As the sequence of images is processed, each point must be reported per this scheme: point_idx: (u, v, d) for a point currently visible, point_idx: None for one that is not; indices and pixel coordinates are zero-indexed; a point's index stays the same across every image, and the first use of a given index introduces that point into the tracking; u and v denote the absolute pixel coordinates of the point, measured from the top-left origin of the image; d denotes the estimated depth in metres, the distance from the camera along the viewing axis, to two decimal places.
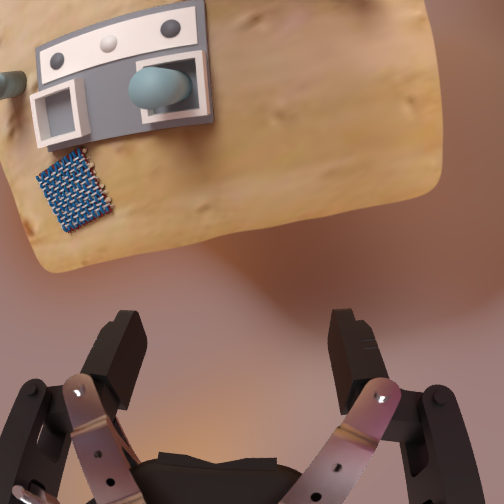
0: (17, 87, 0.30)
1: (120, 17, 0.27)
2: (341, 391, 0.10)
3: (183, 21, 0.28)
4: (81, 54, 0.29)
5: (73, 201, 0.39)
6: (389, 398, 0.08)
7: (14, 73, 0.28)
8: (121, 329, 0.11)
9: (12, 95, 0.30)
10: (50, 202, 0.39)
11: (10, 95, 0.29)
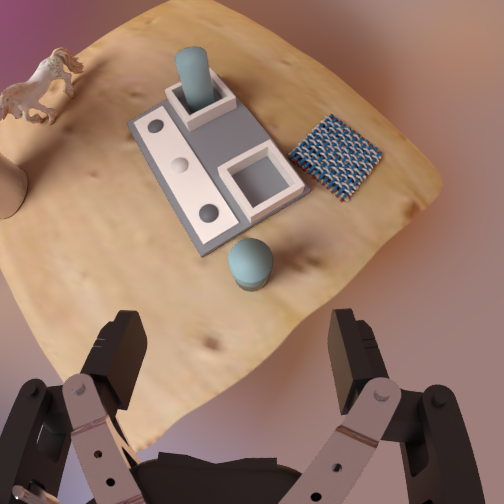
0: None
1: (153, 170, 0.40)
2: (341, 391, 0.10)
3: (147, 121, 0.42)
4: (195, 187, 0.39)
5: (344, 148, 0.40)
6: (389, 398, 0.08)
7: None
8: (121, 329, 0.11)
9: None
10: (361, 174, 0.40)
11: None
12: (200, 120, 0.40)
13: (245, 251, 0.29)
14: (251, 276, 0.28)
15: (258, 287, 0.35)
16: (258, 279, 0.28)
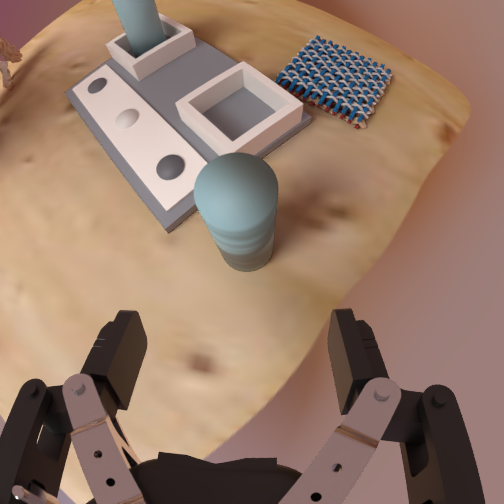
0: None
1: (95, 133, 0.27)
2: (341, 391, 0.10)
3: (88, 83, 0.29)
4: (149, 138, 0.26)
5: (343, 67, 0.28)
6: (389, 398, 0.08)
7: None
8: (121, 329, 0.11)
9: None
10: (374, 92, 0.26)
11: None
12: (150, 63, 0.27)
13: (224, 175, 0.15)
14: (242, 216, 0.14)
15: (260, 256, 0.21)
16: (256, 219, 0.14)
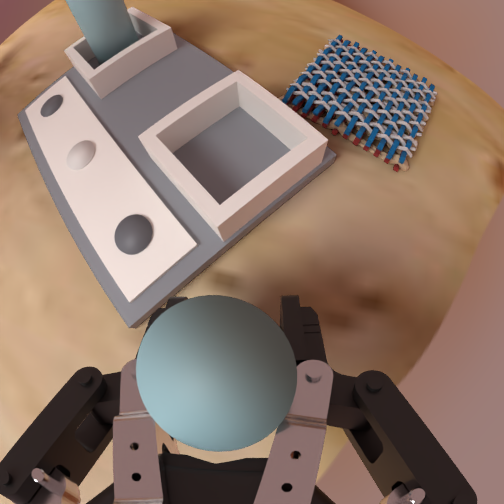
0: None
1: (44, 174, 0.19)
2: None
3: (42, 103, 0.21)
4: (107, 187, 0.18)
5: None
6: (319, 379, 0.09)
7: None
8: None
9: None
10: (418, 118, 0.19)
11: None
12: (114, 75, 0.20)
13: (190, 347, 0.07)
14: (227, 432, 0.07)
15: None
16: (253, 439, 0.07)
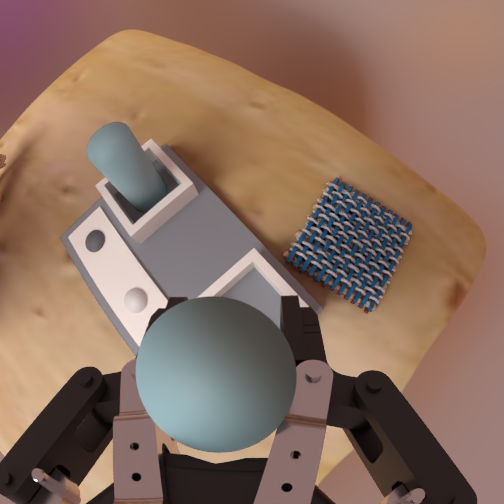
0: None
1: (104, 308, 0.28)
2: None
3: (84, 234, 0.30)
4: None
5: (362, 230, 0.29)
6: (319, 380, 0.09)
7: None
8: None
9: None
10: (390, 267, 0.28)
11: None
12: (150, 227, 0.29)
13: (190, 349, 0.07)
14: (226, 433, 0.07)
15: None
16: (252, 441, 0.07)
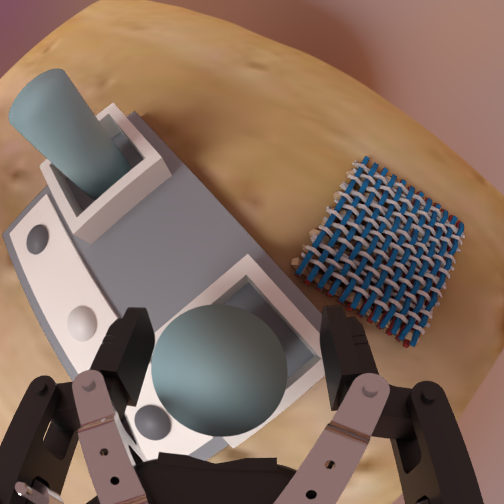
0: None
1: (46, 331, 0.19)
2: (331, 387, 0.10)
3: (26, 231, 0.21)
4: None
5: (402, 230, 0.19)
6: (377, 394, 0.08)
7: None
8: (130, 325, 0.11)
9: None
10: (439, 282, 0.18)
11: None
12: (101, 221, 0.19)
13: (197, 348, 0.09)
14: (229, 420, 0.08)
15: None
16: (250, 426, 0.08)
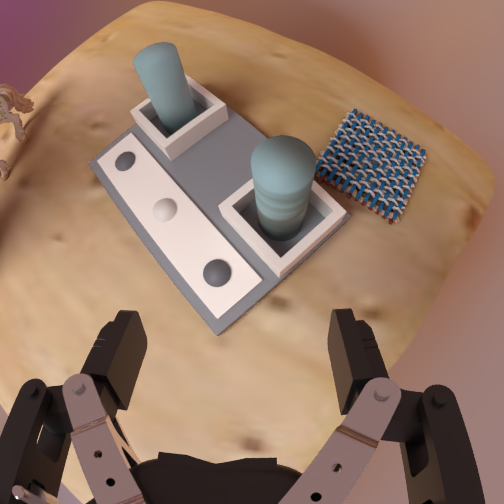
0: None
1: (131, 222, 0.29)
2: (341, 391, 0.10)
3: (114, 157, 0.31)
4: (192, 238, 0.28)
5: (380, 151, 0.29)
6: (389, 398, 0.08)
7: None
8: (121, 329, 0.11)
9: None
10: (409, 182, 0.28)
11: None
12: (183, 143, 0.30)
13: (274, 152, 0.19)
14: (290, 182, 0.18)
15: (296, 224, 0.25)
16: (301, 184, 0.18)
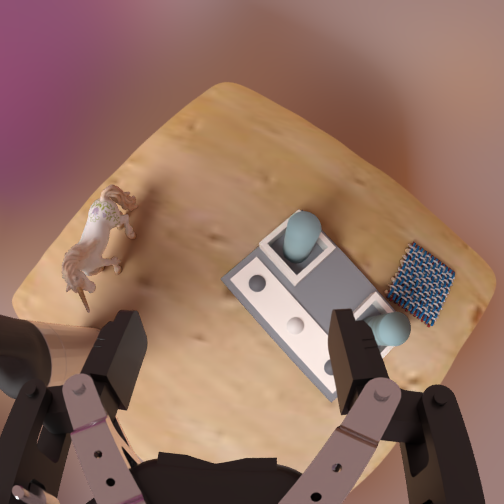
0: None
1: (269, 332, 0.43)
2: (341, 391, 0.10)
3: (246, 278, 0.45)
4: (316, 345, 0.42)
5: (428, 277, 0.44)
6: (389, 398, 0.08)
7: None
8: (121, 329, 0.11)
9: None
10: (442, 299, 0.43)
11: None
12: (305, 276, 0.44)
13: (391, 323, 0.33)
14: (398, 340, 0.32)
15: None
16: (403, 342, 0.32)
